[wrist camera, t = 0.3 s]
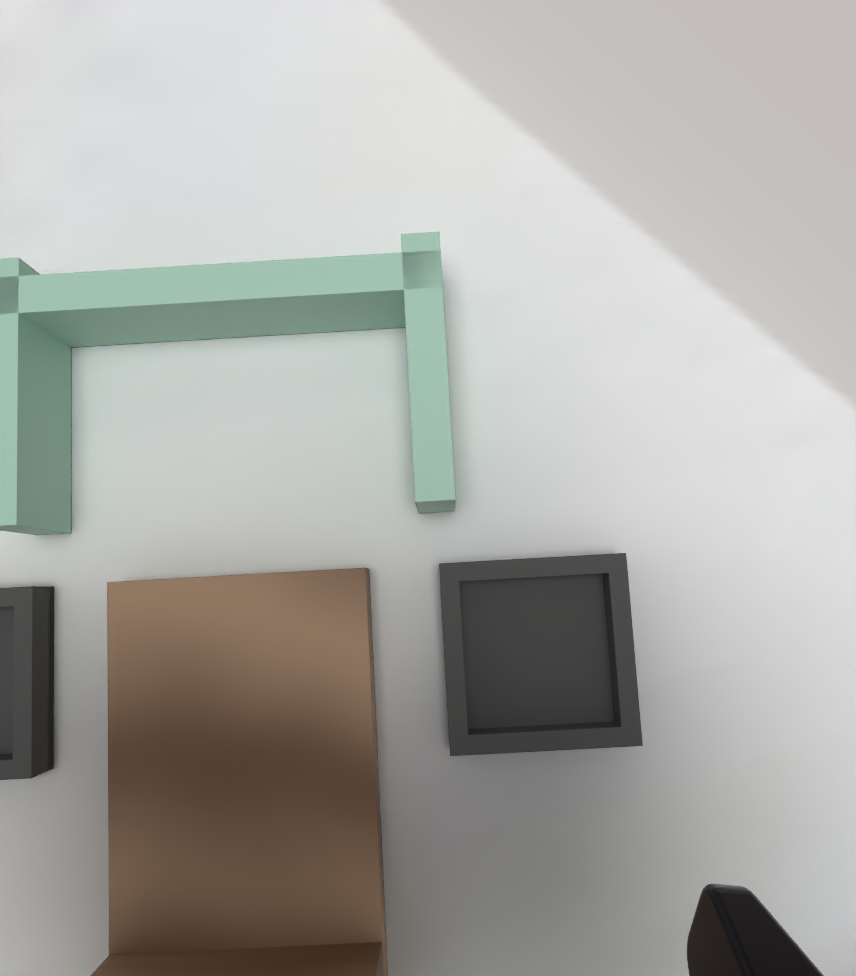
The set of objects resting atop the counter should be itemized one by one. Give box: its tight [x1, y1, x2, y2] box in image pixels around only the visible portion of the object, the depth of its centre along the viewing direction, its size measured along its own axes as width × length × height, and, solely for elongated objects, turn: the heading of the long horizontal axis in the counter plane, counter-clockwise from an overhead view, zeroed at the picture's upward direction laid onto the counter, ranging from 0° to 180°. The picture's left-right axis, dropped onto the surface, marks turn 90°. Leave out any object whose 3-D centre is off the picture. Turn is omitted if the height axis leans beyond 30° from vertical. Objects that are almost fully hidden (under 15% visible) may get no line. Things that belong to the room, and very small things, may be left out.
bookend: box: [91, 568, 388, 976], centre depth 18 cm, size 11×7×9 cm, turn 3°
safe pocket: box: [0, 232, 455, 535], centre depth 22 cm, size 7×12×3 cm, turn 93°
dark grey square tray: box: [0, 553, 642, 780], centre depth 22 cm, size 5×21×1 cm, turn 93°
